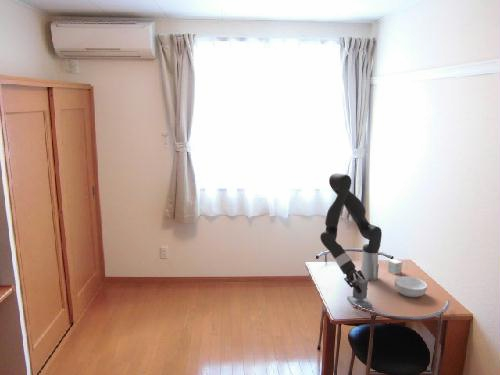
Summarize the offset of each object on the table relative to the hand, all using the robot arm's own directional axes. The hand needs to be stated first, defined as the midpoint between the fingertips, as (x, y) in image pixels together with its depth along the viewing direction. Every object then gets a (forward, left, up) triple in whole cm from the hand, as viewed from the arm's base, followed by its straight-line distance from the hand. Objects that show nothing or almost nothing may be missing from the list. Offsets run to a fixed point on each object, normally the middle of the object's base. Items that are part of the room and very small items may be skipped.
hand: (363, 291), depth 210 cm
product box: (-36, -41, -8) cm, 55 cm away
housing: (+1, -1, -4) cm, 4 cm away
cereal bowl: (-31, -10, -8) cm, 34 cm away
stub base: (+1, -1, -7) cm, 8 cm away
